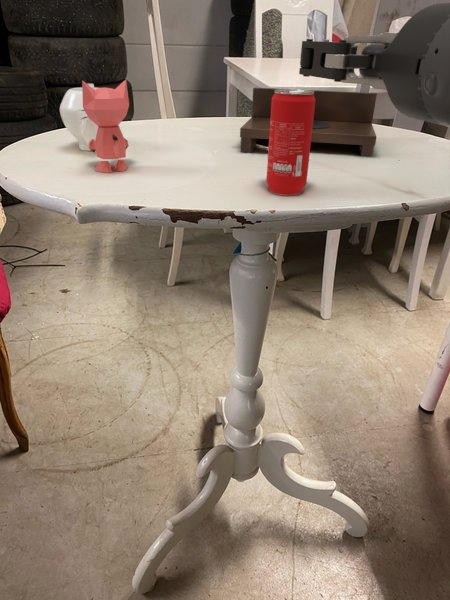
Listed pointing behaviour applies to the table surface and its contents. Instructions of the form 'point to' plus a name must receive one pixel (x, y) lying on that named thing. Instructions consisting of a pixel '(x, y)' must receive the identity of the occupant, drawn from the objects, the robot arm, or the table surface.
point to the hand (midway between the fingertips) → (347, 56)
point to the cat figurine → (107, 123)
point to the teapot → (78, 117)
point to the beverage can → (290, 140)
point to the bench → (319, 119)
